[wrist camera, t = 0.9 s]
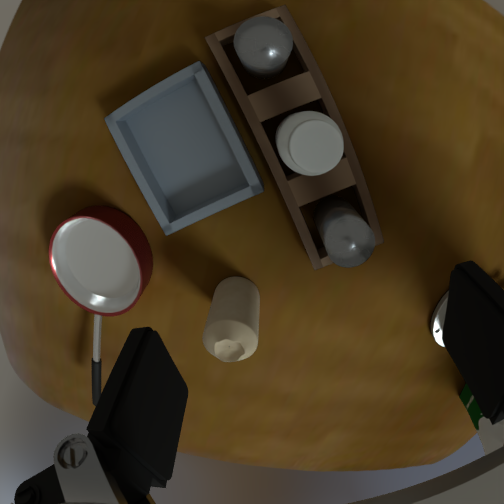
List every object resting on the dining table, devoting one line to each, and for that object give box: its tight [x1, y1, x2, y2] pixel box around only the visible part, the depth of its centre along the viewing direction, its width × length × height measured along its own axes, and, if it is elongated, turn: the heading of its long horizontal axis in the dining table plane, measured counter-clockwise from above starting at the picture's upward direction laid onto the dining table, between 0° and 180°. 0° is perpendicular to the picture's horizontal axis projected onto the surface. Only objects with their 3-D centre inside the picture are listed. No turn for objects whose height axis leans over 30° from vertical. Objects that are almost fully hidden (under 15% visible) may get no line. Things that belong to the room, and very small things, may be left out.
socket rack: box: [205, 5, 384, 270], centre depth 29 cm, size 8×26×2 cm, turn 25°
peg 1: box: [234, 16, 293, 79], centre depth 23 cm, size 4×4×8 cm
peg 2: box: [313, 195, 375, 267], centre depth 29 cm, size 4×4×8 cm
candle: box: [203, 276, 260, 362], centre depth 33 cm, size 6×6×10 cm
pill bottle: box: [275, 111, 344, 176], centre depth 25 cm, size 5×5×10 cm
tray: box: [104, 61, 264, 236], centre depth 29 cm, size 11×14×3 cm
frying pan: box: [49, 206, 153, 406], centre depth 38 cm, size 32×13×6 cm, turn 170°
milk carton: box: [459, 384, 504, 455], centre depth 36 cm, size 9×9×20 cm
